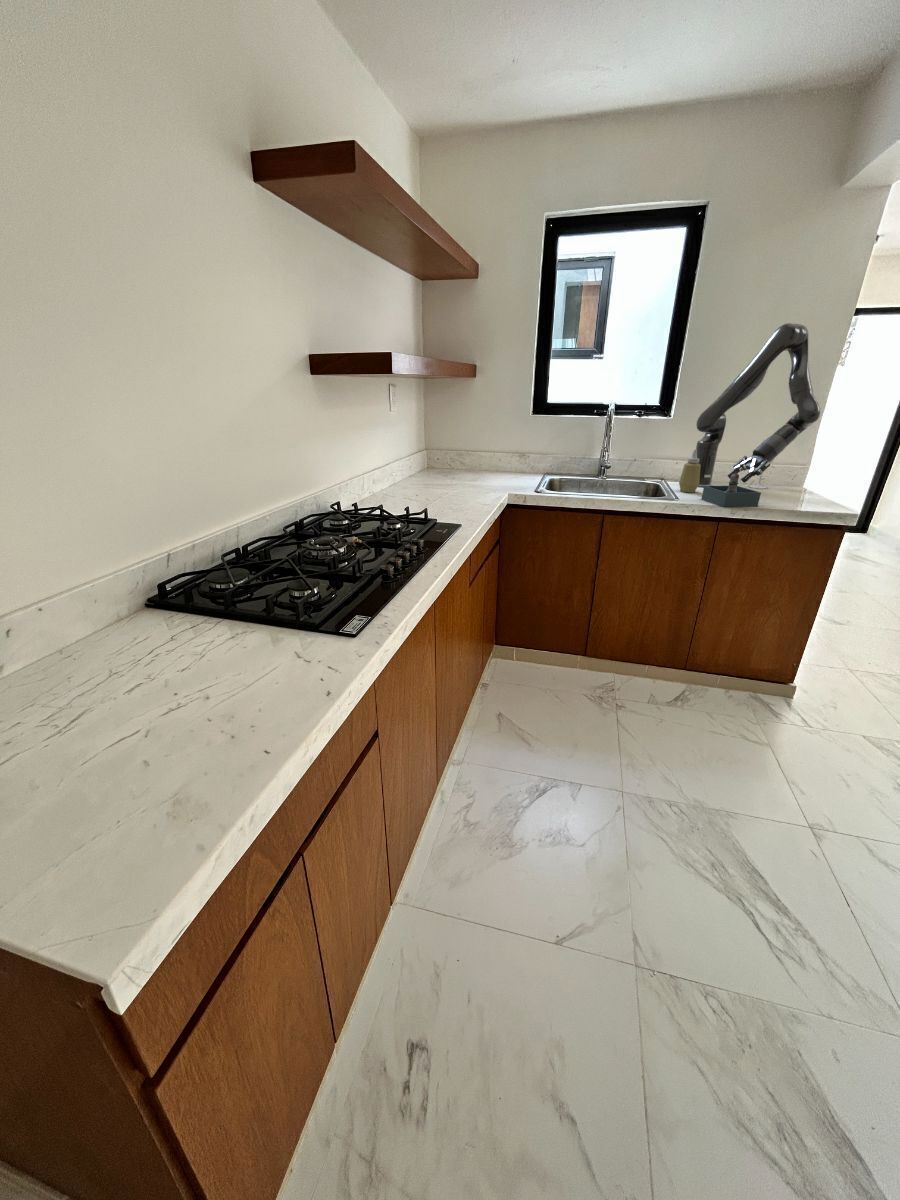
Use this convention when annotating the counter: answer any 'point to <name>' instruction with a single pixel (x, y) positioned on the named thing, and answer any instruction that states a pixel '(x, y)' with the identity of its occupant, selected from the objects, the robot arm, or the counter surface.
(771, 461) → the wineglass
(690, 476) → the squeeze bottle
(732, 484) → the salt shaker
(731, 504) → the bin
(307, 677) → the counter surface
